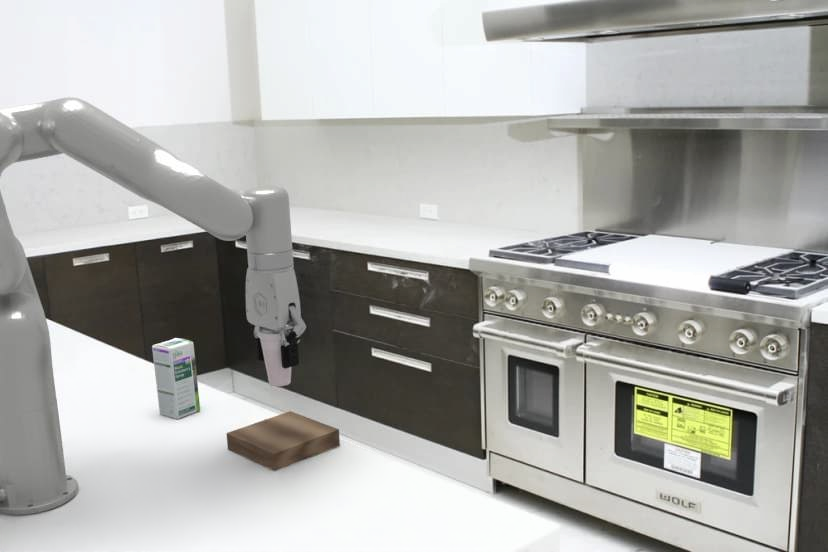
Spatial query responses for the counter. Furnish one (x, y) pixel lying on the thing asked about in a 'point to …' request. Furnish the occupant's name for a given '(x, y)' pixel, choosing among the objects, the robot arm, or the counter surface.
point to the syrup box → (176, 378)
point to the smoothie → (274, 357)
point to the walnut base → (283, 440)
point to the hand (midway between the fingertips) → (278, 361)
